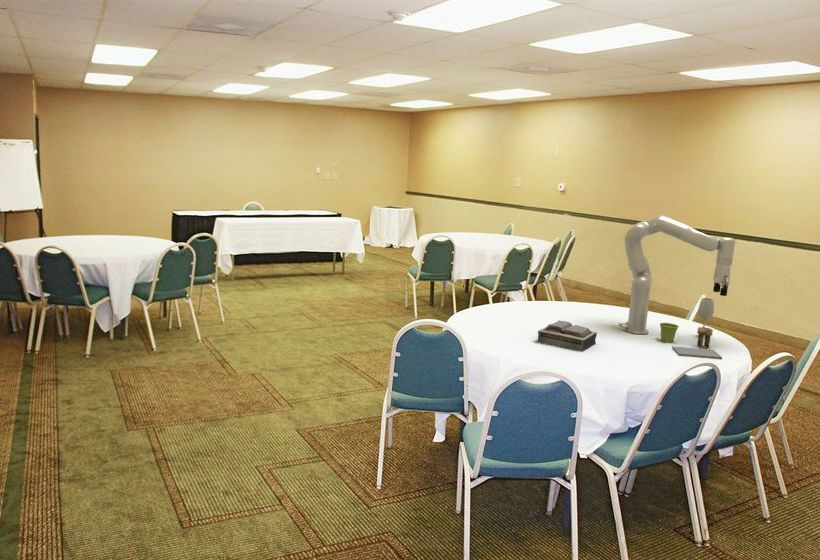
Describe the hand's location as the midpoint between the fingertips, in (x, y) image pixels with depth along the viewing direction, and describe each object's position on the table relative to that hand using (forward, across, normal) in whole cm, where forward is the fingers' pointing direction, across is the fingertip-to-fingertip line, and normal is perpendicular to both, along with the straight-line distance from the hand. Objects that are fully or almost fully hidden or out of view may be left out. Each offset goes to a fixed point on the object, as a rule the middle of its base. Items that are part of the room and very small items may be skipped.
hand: (719, 293), depth 341 cm
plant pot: (+27, +3, -24) cm, 36 cm away
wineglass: (+27, -11, -2) cm, 29 cm away
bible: (+27, +22, -79) cm, 86 cm away
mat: (+26, +24, -16) cm, 39 cm away
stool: (+26, +11, -9) cm, 30 cm away
